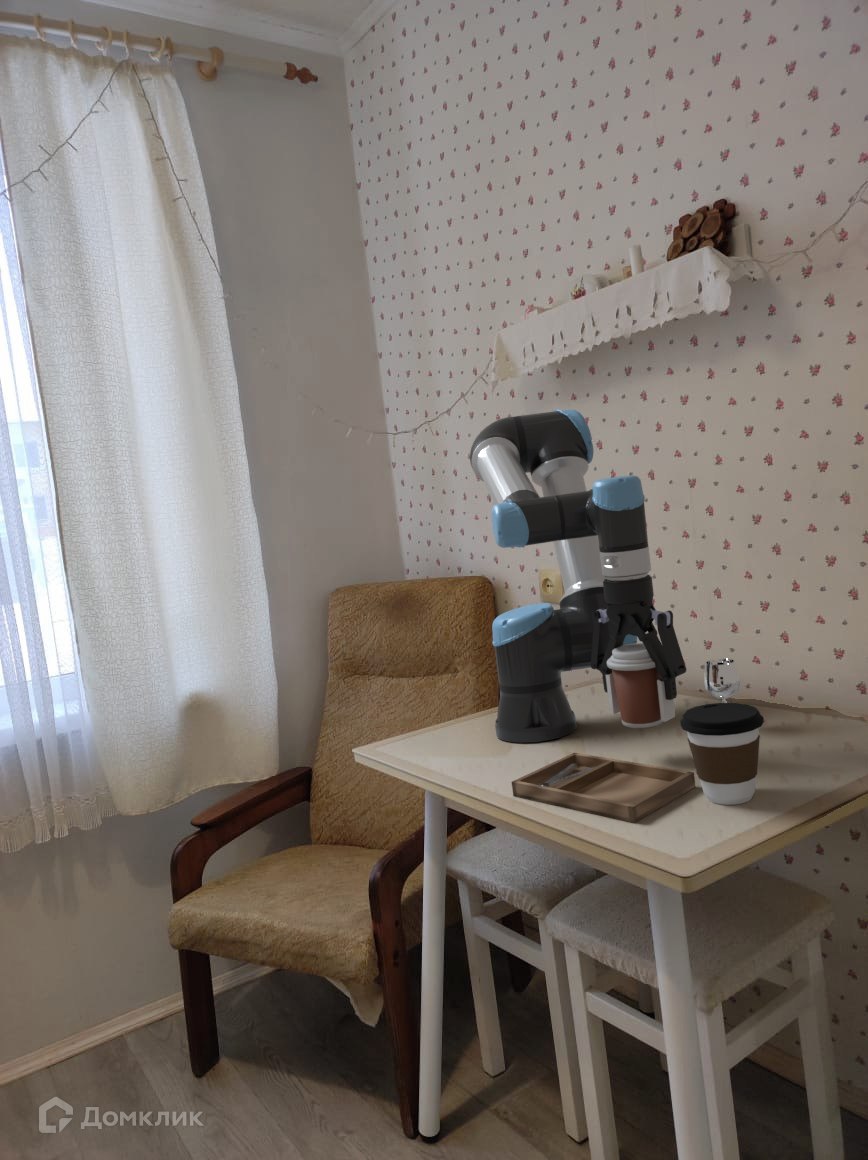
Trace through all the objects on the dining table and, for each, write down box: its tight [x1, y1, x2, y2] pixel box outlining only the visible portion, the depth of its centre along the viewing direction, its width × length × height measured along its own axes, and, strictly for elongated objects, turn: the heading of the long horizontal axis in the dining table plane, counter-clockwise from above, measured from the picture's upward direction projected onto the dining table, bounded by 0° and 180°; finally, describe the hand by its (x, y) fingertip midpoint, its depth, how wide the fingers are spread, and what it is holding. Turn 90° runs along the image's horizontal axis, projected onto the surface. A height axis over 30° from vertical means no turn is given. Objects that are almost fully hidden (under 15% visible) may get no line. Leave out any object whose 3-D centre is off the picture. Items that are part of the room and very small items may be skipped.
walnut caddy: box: [511, 752, 696, 824], centre depth 132 cm, size 22×15×2 cm
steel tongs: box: [539, 764, 595, 788], centre depth 136 cm, size 11×5×1 cm, turn 132°
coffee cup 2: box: [679, 702, 765, 806], centre depth 123 cm, size 11×11×12 cm
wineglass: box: [703, 658, 741, 703], centre depth 152 cm, size 6×6×12 cm
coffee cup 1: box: [607, 642, 664, 729], centre depth 141 cm, size 9×9×12 cm
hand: (641, 715), depth 142 cm, fingers closed on coffee cup 1, 9 cm apart
